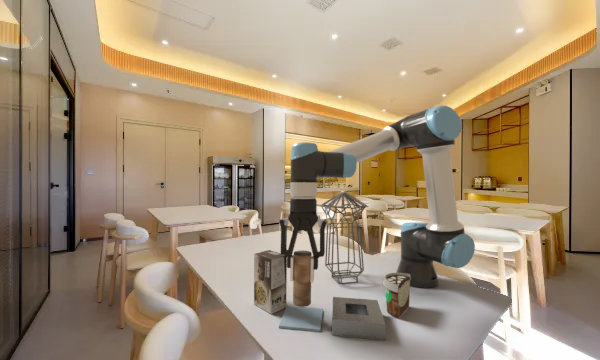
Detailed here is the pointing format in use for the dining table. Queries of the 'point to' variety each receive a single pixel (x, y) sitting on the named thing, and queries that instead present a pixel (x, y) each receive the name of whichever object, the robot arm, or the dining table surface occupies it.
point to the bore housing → (357, 318)
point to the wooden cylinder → (302, 278)
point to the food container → (397, 293)
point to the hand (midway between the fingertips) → (302, 279)
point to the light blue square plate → (302, 318)
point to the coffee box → (270, 280)
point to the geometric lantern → (351, 199)
